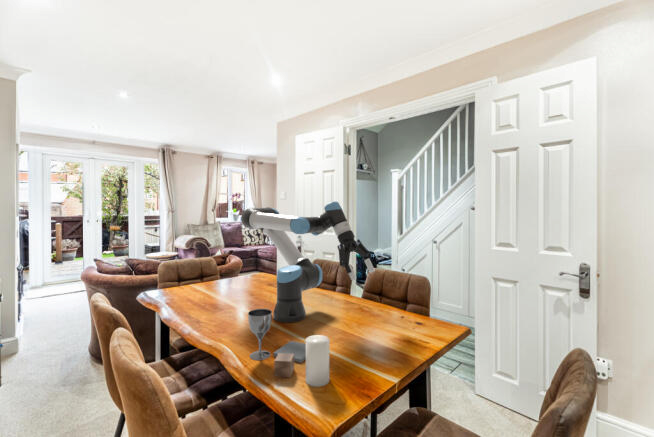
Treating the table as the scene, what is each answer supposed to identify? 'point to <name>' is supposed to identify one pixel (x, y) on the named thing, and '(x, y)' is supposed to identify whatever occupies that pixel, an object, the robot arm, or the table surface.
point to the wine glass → (260, 329)
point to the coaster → (294, 350)
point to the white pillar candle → (317, 360)
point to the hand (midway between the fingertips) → (363, 275)
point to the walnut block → (284, 365)
